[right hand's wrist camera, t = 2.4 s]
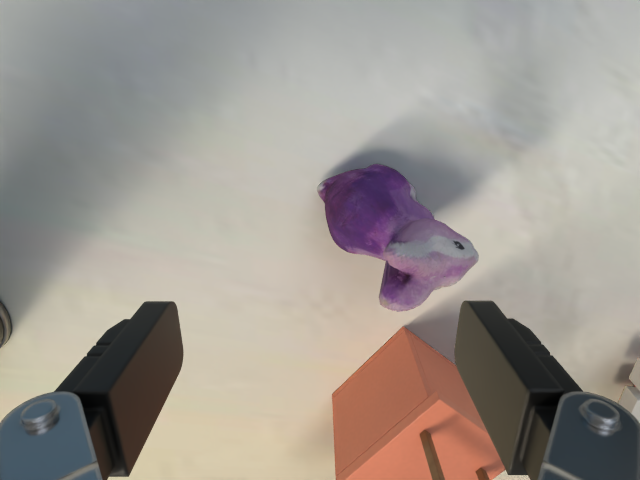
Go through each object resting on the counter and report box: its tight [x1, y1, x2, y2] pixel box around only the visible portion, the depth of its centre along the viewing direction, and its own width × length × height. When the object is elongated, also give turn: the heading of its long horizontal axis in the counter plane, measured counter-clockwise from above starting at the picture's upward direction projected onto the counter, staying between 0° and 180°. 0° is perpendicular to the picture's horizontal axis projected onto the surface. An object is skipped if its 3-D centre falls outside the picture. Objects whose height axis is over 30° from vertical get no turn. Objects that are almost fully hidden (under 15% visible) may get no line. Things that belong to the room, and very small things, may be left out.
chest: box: [332, 326, 483, 477], centre depth 41 cm, size 12×10×11 cm
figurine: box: [317, 164, 479, 312], centre depth 31 cm, size 9×10×15 cm
